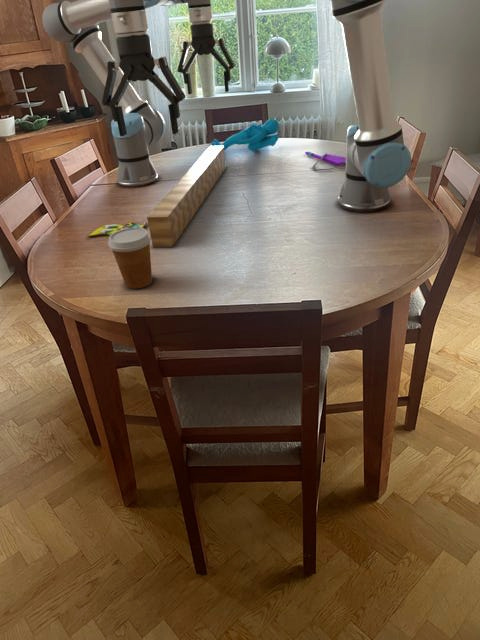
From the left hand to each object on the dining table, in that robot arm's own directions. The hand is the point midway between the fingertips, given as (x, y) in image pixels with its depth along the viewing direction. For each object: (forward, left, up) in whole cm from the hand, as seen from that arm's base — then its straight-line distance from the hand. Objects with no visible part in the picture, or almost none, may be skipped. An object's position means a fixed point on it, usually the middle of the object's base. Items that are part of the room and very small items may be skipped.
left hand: (208, 92), depth 172 cm
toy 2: (-20, +23, -28) cm, 41 cm away
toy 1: (+37, -48, -28) cm, 67 cm away
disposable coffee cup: (+73, -52, -28) cm, 94 cm away
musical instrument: (+18, +37, -28) cm, 50 cm away
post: (+26, -19, -28) cm, 43 cm away
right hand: (+52, -38, 0) cm, 65 cm away
